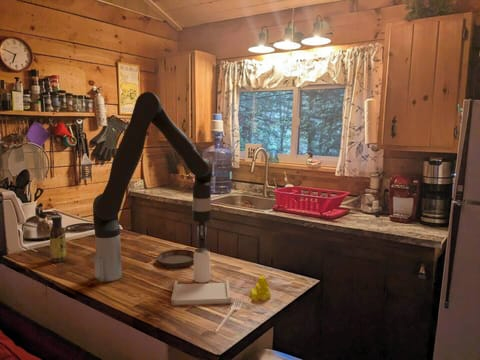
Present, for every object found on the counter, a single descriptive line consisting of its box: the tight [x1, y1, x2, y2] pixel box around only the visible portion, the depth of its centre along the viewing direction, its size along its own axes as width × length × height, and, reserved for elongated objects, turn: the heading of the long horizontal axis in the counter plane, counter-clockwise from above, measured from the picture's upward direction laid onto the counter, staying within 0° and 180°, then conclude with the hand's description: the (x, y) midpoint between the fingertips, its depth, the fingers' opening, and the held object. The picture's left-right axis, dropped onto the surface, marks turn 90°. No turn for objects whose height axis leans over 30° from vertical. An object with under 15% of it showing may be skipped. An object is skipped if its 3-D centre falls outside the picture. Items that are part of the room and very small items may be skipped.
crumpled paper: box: [250, 274, 271, 302], centre depth 135 cm, size 6×8×8 cm
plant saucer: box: [156, 248, 195, 268], centre depth 170 cm, size 18×18×3 cm
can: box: [193, 247, 211, 284], centre depth 149 cm, size 6×6×12 cm
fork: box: [215, 297, 244, 332], centre depth 121 cm, size 3×20×2 cm, turn 160°
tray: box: [170, 279, 232, 306], centre depth 137 cm, size 16×20×2 cm
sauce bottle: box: [49, 215, 67, 263], centre depth 169 cm, size 6×6×20 cm
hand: (202, 250), depth 156 cm, fingers closed
